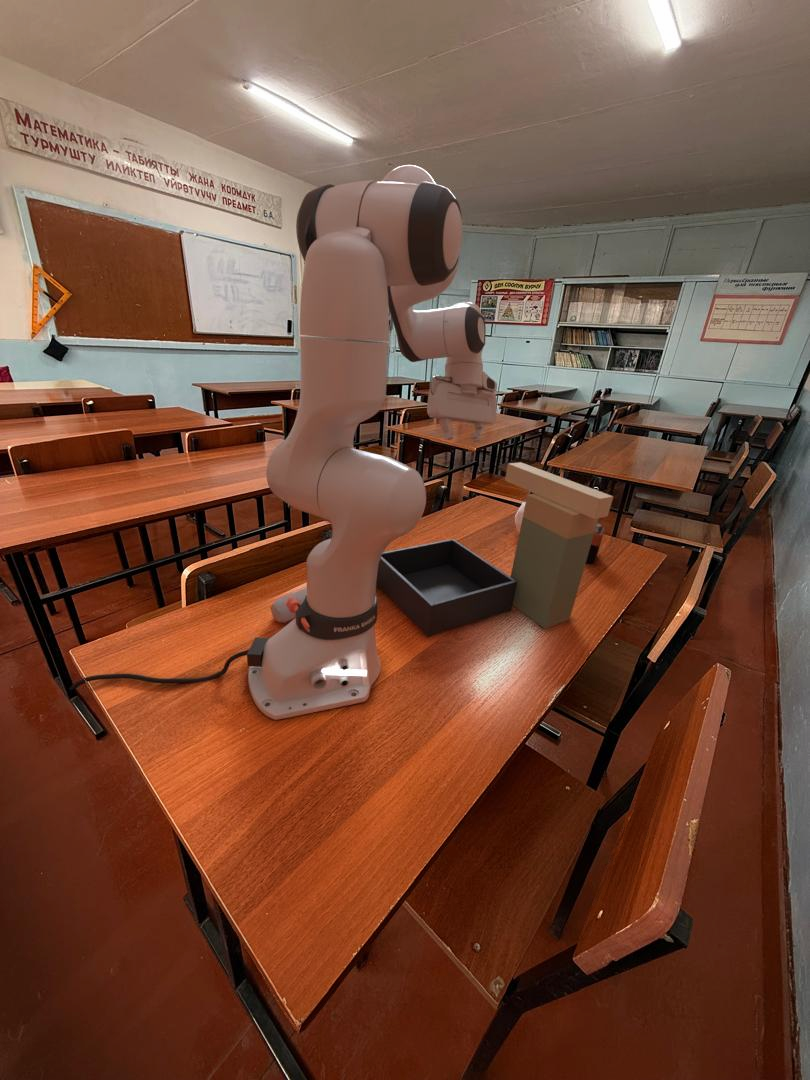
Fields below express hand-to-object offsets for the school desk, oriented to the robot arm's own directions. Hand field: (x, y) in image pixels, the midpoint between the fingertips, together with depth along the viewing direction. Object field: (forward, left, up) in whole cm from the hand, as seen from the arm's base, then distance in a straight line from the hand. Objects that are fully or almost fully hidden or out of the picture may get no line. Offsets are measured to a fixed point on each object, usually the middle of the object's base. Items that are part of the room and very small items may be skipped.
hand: (462, 440), depth 104 cm
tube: (-37, -6, -32) cm, 49 cm away
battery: (+39, -15, -32) cm, 53 cm away
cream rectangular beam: (+5, -25, -6) cm, 26 cm away
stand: (+5, -28, -32) cm, 43 cm away
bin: (-12, -14, -32) cm, 37 cm away
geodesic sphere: (+33, 0, -32) cm, 46 cm away
